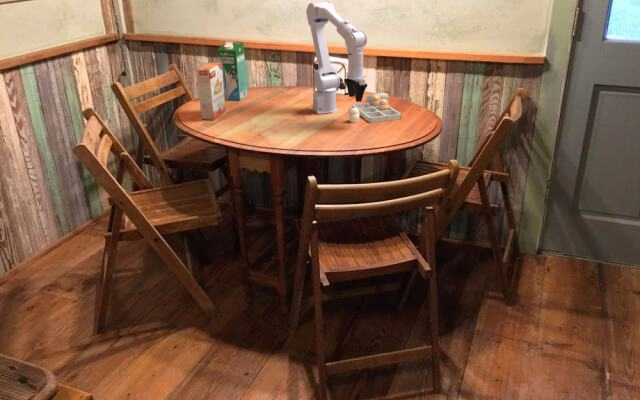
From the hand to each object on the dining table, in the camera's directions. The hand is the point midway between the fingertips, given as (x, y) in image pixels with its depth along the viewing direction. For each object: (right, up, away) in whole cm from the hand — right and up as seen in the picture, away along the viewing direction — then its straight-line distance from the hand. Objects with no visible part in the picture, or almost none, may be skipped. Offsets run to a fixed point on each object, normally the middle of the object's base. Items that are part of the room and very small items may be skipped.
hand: (355, 99), depth 216 cm
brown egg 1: (+10, 0, +18) cm, 21 cm away
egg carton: (+9, -4, +12) cm, 16 cm away
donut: (+14, +5, +27) cm, 31 cm away
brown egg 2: (+13, -3, +13) cm, 18 cm away
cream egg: (0, -9, +4) cm, 10 cm away
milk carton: (-54, +8, +40) cm, 67 cm away
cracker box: (-59, -4, +16) cm, 61 cm away
